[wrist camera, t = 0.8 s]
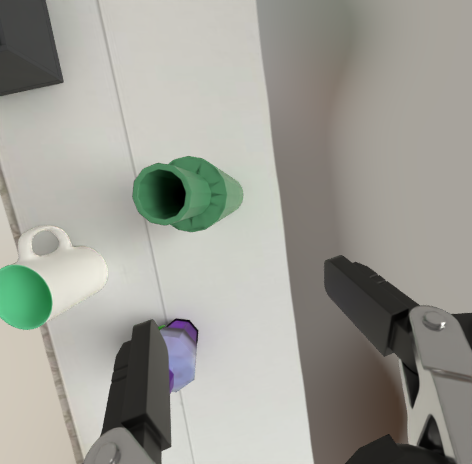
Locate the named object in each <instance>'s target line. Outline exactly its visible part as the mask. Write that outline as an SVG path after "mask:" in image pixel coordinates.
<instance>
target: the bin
mask: <svg viewBox="0 0 472 464" xmlns="http://www.w3.org/2000/svg"><path fill="white" fill-rule="evenodd" d="M63 82H64V81H63V77H62V73H61V68H60V64H59V59H58V55H57V50H56V46H55V41H54V37H53V32H52V28H51V23H50V19H49V14H48V10H47V5H46V1H45V0H0V96H3V95H7V94H12V93H16V92H21V91H26V90H30V89H35V88H40V87H44V86H49V85H53V84H58V83H63Z"/></svg>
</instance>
